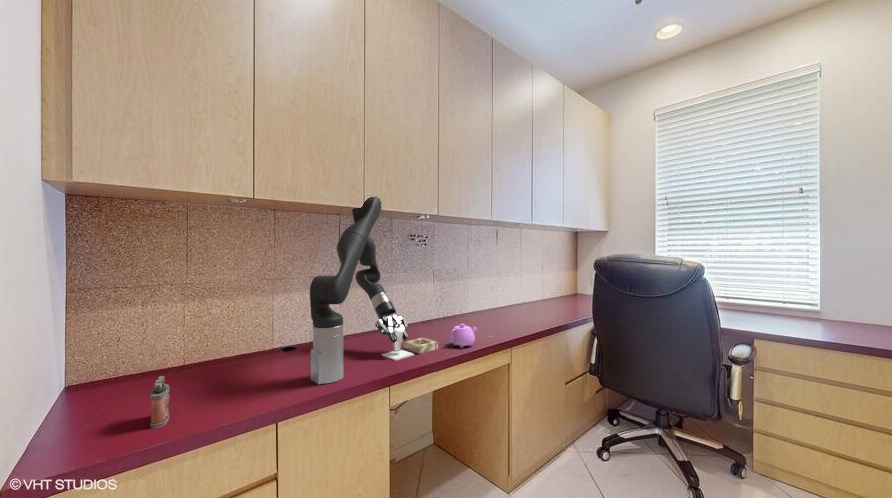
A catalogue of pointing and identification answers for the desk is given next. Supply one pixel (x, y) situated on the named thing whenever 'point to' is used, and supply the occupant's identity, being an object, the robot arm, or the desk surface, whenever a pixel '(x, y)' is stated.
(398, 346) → the milkshake
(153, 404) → the lighter
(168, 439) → the desk surface
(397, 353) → the mat
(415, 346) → the holder
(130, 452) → the desk surface
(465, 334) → the teapot
